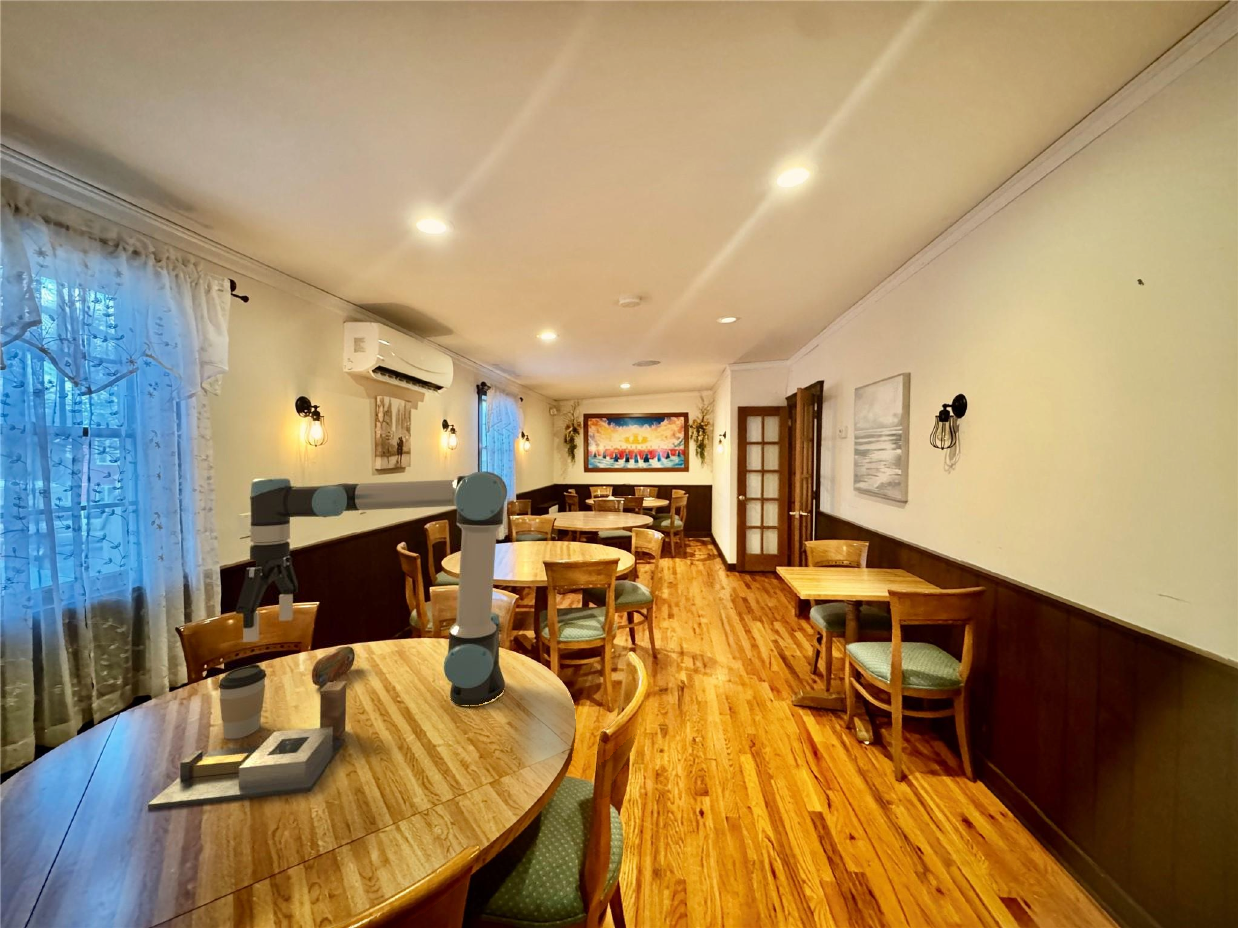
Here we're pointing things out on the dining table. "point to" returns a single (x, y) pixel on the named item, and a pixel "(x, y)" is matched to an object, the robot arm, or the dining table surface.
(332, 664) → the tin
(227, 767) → the pin
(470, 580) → the robot arm
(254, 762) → the dock
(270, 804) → the dining table surface
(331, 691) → the peg
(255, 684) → the coffee cup
